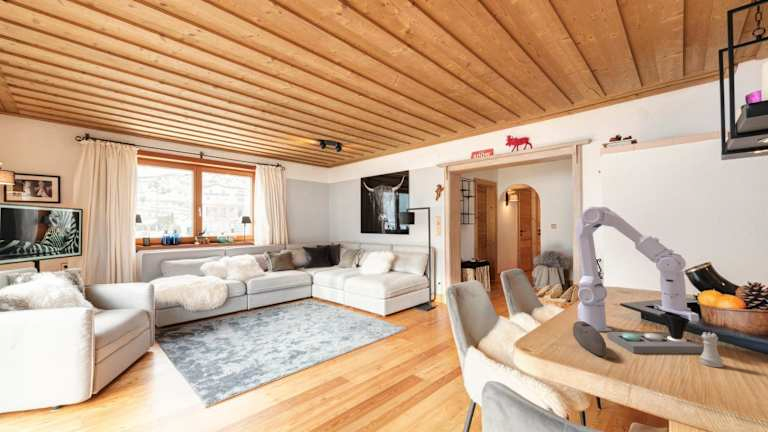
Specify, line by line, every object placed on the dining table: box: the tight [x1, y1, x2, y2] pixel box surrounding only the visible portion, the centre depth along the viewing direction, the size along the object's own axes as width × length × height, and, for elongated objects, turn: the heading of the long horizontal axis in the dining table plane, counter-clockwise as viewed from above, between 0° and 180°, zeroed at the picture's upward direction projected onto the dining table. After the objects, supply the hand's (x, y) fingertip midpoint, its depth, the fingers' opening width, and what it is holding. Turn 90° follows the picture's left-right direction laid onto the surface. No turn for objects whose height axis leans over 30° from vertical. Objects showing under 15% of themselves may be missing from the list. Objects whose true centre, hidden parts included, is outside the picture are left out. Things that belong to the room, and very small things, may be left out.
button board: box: [606, 331, 704, 354], centre depth 99 cm, size 13×20×2 cm, turn 84°
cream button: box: [667, 336, 687, 342], centre depth 98 cm, size 4×4×1 cm
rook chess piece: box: [699, 331, 725, 368], centre depth 85 cm, size 4×4×8 cm
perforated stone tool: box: [572, 320, 607, 357], centre depth 97 cm, size 15×5×7 cm, turn 170°
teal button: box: [622, 333, 640, 342], centre depth 100 cm, size 4×4×1 cm
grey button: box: [644, 333, 663, 342], centre depth 99 cm, size 4×4×1 cm
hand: (676, 338), depth 98 cm, fingers closed, pressing on cream button
